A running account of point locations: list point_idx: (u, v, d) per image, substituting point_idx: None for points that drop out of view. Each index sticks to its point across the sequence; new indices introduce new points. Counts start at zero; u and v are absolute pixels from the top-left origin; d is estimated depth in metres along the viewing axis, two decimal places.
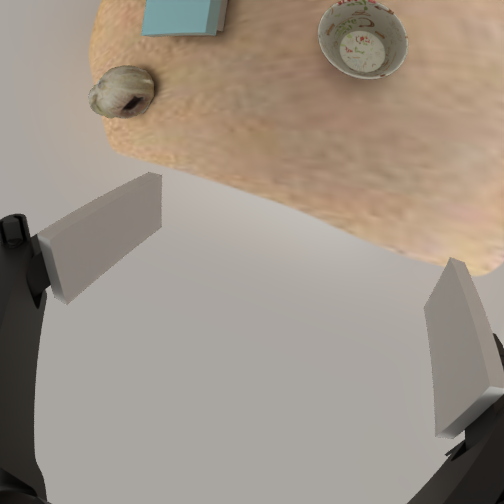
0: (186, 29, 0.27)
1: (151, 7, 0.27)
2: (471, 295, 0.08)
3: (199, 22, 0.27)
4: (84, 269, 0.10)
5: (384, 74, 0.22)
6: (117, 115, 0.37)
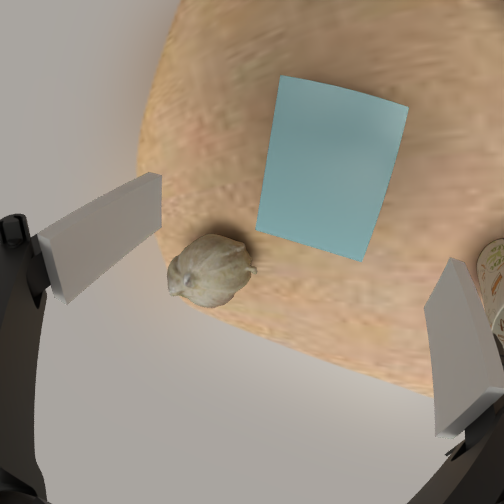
0: (334, 248, 0.24)
1: (274, 189, 0.23)
2: (471, 295, 0.08)
3: (355, 245, 0.23)
4: (84, 269, 0.10)
5: None
6: None
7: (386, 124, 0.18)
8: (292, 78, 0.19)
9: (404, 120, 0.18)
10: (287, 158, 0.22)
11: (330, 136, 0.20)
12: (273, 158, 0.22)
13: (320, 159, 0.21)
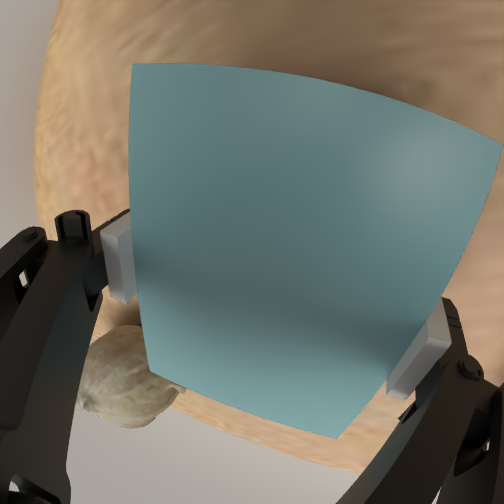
0: (286, 420, 0.12)
1: (161, 323, 0.11)
2: None
3: (326, 422, 0.11)
4: None
5: None
6: None
7: (435, 195, 0.06)
8: (158, 67, 0.06)
9: (486, 184, 0.05)
10: (171, 270, 0.09)
11: (266, 226, 0.08)
12: (145, 267, 0.10)
13: (245, 280, 0.09)
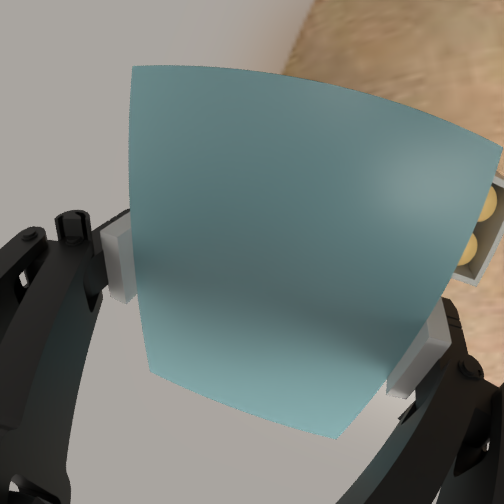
0: (285, 421, 0.12)
1: (162, 324, 0.11)
2: None
3: (326, 422, 0.11)
4: None
5: None
6: None
7: (435, 197, 0.06)
8: (158, 69, 0.06)
9: (486, 186, 0.05)
10: (171, 272, 0.09)
11: (266, 228, 0.08)
12: (145, 268, 0.10)
13: (244, 282, 0.09)
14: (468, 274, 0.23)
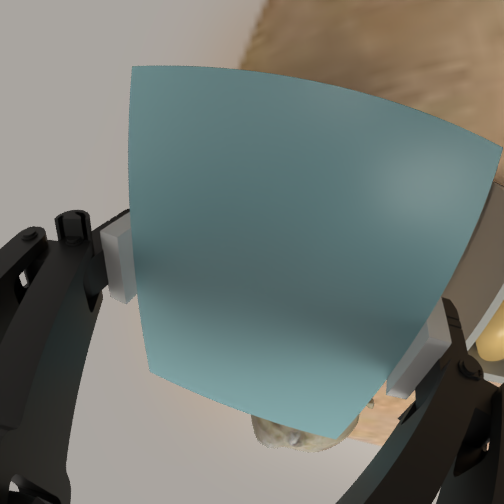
0: (285, 421, 0.12)
1: (161, 324, 0.11)
2: None
3: (326, 422, 0.11)
4: None
5: None
6: None
7: (434, 197, 0.06)
8: (158, 69, 0.06)
9: (485, 187, 0.05)
10: (171, 272, 0.09)
11: (266, 228, 0.08)
12: (145, 268, 0.10)
13: (244, 282, 0.09)
14: None
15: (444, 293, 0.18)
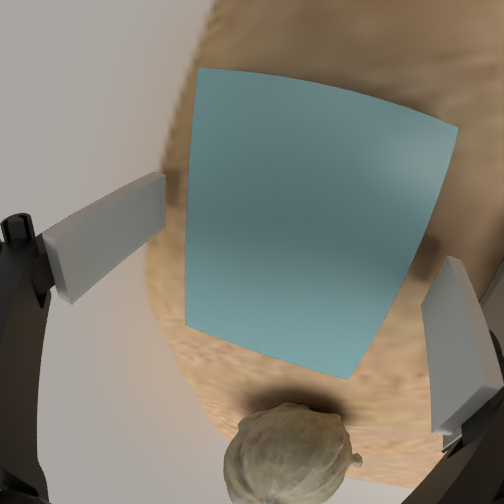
0: (305, 362, 0.15)
1: (204, 273, 0.14)
2: (467, 292, 0.09)
3: (340, 360, 0.14)
4: (89, 269, 0.10)
5: None
6: None
7: (412, 162, 0.09)
8: (220, 71, 0.09)
9: (448, 154, 0.08)
10: (219, 225, 0.12)
11: (297, 185, 0.11)
12: (196, 224, 0.13)
13: (279, 228, 0.12)
14: None
15: None
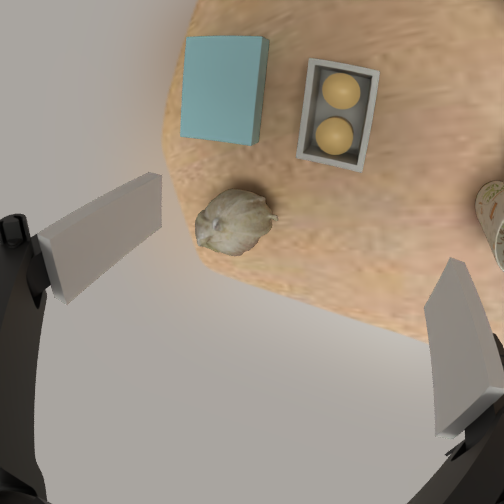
0: (230, 139, 0.33)
1: (188, 106, 0.33)
2: (471, 295, 0.08)
3: (244, 133, 0.32)
4: (84, 269, 0.10)
5: None
6: (234, 255, 0.36)
7: (249, 50, 0.28)
8: (193, 37, 0.28)
9: (260, 45, 0.27)
10: (194, 84, 0.31)
11: (217, 65, 0.29)
12: (186, 86, 0.32)
13: (213, 80, 0.30)
14: (351, 162, 0.28)
15: None
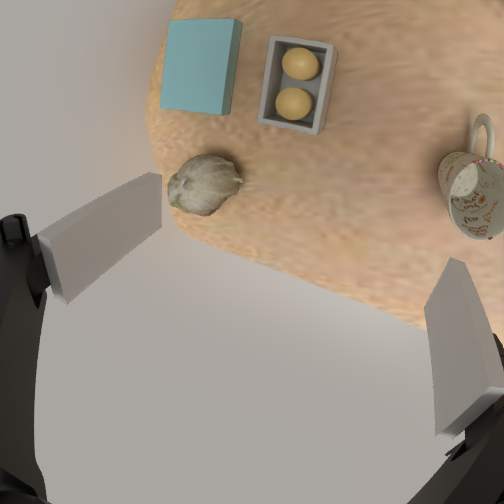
0: (203, 109, 0.35)
1: (168, 80, 0.35)
2: (471, 295, 0.08)
3: (215, 104, 0.34)
4: (84, 269, 0.10)
5: (491, 236, 0.24)
6: (202, 215, 0.39)
7: (222, 31, 0.29)
8: (175, 20, 0.30)
9: (232, 26, 0.29)
10: (173, 62, 0.33)
11: (194, 45, 0.31)
12: (167, 63, 0.33)
13: (190, 58, 0.32)
14: (307, 126, 0.30)
15: None
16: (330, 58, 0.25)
